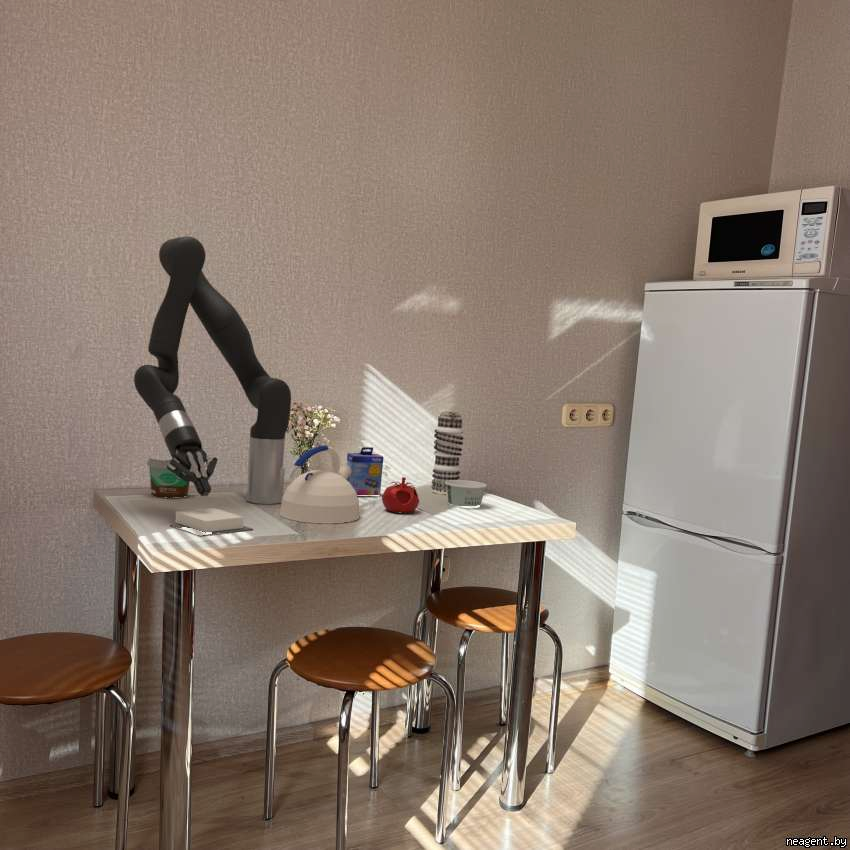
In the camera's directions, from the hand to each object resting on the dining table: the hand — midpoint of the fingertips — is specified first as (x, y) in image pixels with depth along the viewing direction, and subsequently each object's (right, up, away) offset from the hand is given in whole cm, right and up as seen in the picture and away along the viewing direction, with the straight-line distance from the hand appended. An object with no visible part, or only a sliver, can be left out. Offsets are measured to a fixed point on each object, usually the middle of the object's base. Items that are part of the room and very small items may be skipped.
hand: (206, 494), depth 201 cm
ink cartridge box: (+32, -5, +56) cm, 65 cm away
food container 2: (+61, -8, +52) cm, 81 cm away
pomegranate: (+43, -8, +36) cm, 57 cm away
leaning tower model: (+56, -5, +72) cm, 92 cm away
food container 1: (-18, -4, +33) cm, 37 cm away
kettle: (+23, -8, +23) cm, 33 cm away
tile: (-3, -5, +3) cm, 7 cm away
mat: (+2, -8, -1) cm, 8 cm away
